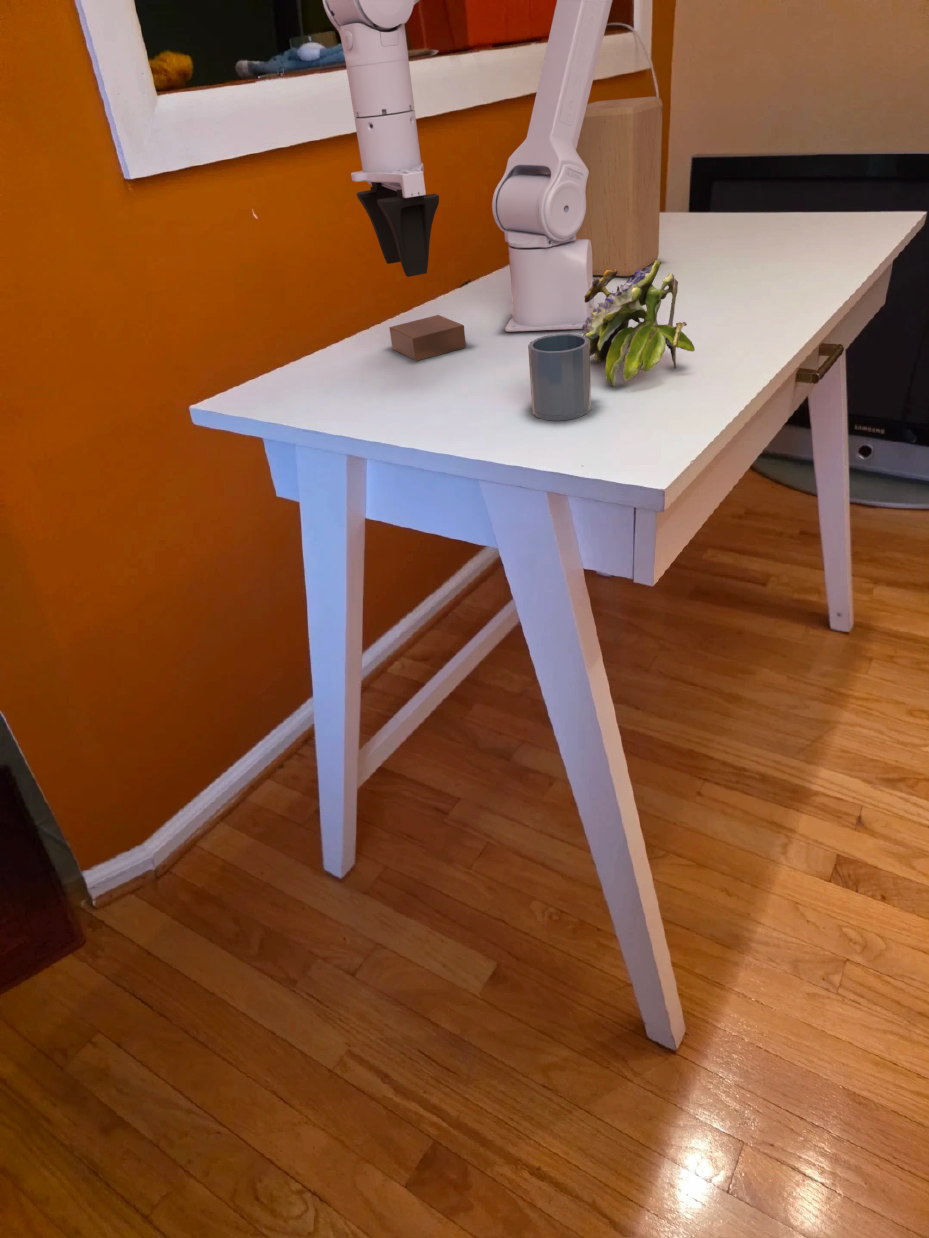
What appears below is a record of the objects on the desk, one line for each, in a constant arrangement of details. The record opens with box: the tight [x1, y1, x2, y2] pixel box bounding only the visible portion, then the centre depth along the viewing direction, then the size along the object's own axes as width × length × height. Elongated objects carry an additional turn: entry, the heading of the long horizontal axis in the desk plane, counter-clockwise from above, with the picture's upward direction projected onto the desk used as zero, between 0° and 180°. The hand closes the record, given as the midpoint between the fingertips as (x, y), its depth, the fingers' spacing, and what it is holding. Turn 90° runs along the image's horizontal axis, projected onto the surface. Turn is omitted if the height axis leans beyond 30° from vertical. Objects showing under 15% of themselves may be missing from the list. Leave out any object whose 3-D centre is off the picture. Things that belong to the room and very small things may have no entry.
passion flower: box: [579, 259, 696, 388], centre depth 79 cm, size 11×11×12 cm
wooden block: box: [576, 95, 663, 278], centre depth 109 cm, size 10×10×20 cm
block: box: [388, 314, 467, 362], centre depth 93 cm, size 6×6×2 cm
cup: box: [527, 333, 592, 422], centre depth 72 cm, size 5×5×6 cm
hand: (406, 268), depth 84 cm, fingers open, 7 cm apart
